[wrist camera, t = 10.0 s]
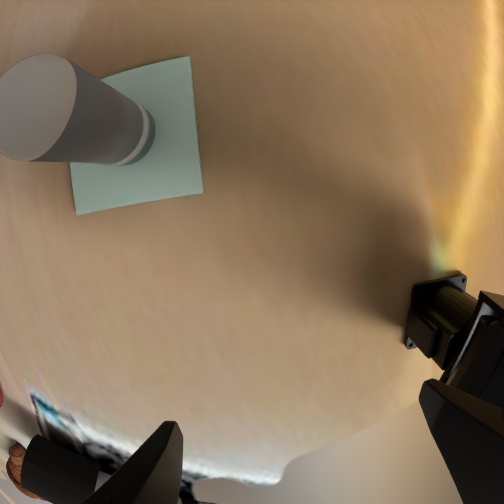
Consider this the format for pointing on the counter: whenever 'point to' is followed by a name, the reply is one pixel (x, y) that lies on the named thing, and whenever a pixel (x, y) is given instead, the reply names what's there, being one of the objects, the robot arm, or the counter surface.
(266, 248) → the counter surface
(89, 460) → the striped bottle
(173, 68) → the coaster
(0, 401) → the plant pot
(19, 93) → the cylinder
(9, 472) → the pastry
